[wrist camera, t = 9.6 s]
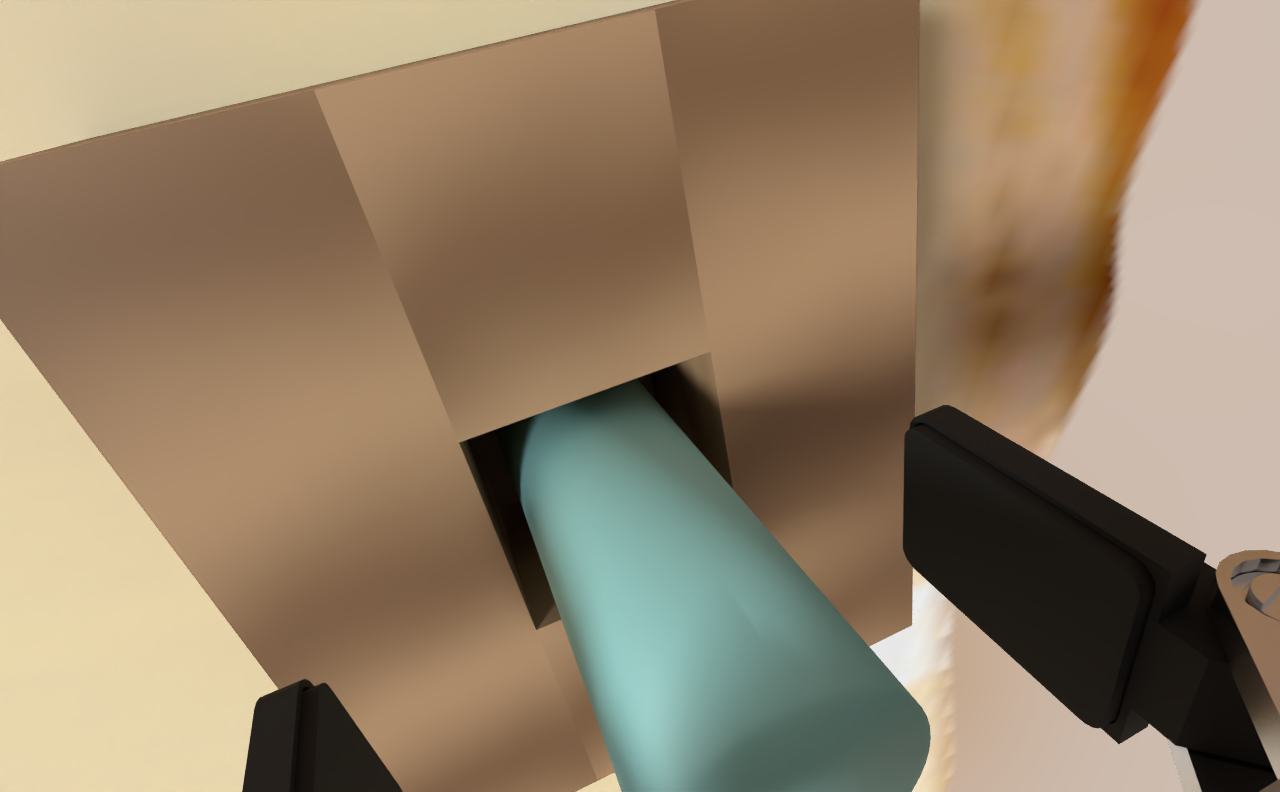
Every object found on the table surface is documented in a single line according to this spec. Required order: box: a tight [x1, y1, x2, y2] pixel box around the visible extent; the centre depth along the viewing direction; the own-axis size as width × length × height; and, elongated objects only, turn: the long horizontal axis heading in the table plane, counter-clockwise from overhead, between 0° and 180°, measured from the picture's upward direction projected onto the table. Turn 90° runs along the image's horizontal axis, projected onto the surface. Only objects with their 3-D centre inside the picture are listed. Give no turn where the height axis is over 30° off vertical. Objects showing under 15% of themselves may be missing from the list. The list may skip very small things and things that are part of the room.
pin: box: [495, 378, 931, 792], centre depth 12 cm, size 4×4×11 cm
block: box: [0, 0, 919, 792], centre depth 16 cm, size 16×14×6 cm
